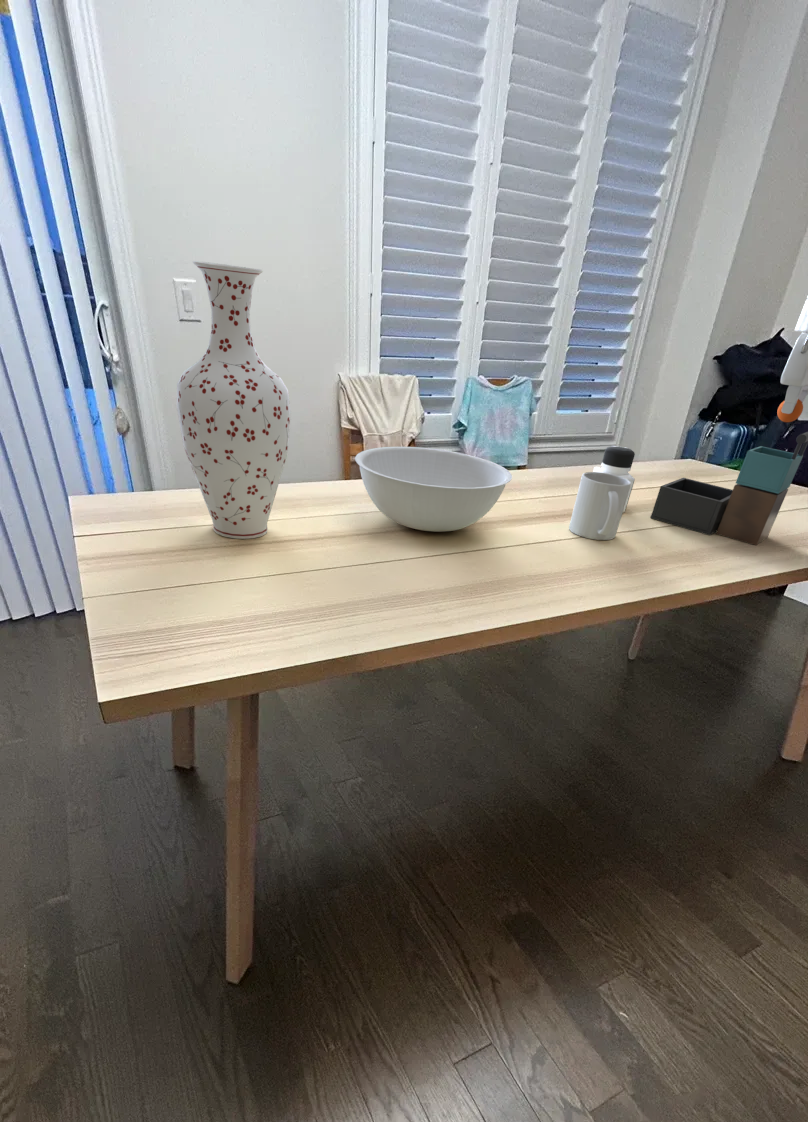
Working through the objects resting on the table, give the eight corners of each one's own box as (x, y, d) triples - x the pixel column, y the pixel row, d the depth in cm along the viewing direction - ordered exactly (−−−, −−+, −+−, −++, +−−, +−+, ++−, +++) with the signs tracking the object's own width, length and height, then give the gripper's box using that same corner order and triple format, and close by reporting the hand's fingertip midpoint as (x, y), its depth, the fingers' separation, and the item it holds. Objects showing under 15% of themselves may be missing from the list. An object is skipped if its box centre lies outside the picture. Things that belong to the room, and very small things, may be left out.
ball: (799, 423, 116) (809, 399, 114) (794, 425, 113) (804, 400, 111) (776, 419, 118) (785, 395, 116) (771, 420, 115) (780, 396, 113)
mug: (578, 521, 126) (592, 469, 120) (624, 534, 122) (641, 480, 116) (557, 533, 118) (570, 477, 112) (605, 547, 114) (622, 490, 108)
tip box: (792, 487, 125) (817, 431, 119) (781, 494, 119) (806, 435, 113) (747, 477, 129) (769, 422, 123) (735, 483, 123) (757, 426, 117)
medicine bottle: (625, 513, 134) (643, 453, 128) (592, 509, 134) (608, 449, 127) (616, 503, 140) (633, 446, 134) (585, 500, 140) (600, 442, 133)
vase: (310, 529, 106) (315, 275, 86) (248, 556, 94) (237, 266, 74) (233, 507, 111) (221, 263, 91) (165, 530, 99) (134, 253, 79)
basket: (729, 523, 136) (741, 492, 133) (709, 535, 127) (722, 502, 124) (672, 507, 142) (683, 477, 139) (650, 518, 133) (660, 486, 130)
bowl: (323, 507, 116) (324, 450, 110) (436, 495, 131) (442, 443, 125) (414, 559, 99) (421, 494, 94) (532, 538, 114) (544, 481, 108)
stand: (767, 536, 131) (788, 488, 125) (756, 545, 125) (777, 495, 119) (728, 525, 135) (747, 478, 129) (715, 533, 129) (734, 484, 123)
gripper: (836, 323, 98) (795, 419, 106) (856, 327, 112) (819, 412, 120) (793, 318, 101) (757, 412, 109) (817, 322, 115) (784, 405, 123)
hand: (789, 412), depth 115 cm, fingers closed on ball, 4 cm apart
